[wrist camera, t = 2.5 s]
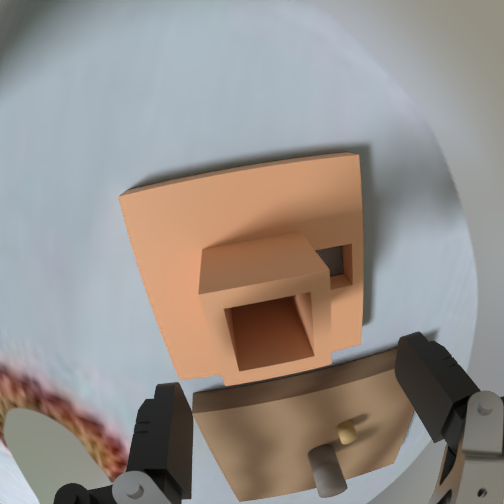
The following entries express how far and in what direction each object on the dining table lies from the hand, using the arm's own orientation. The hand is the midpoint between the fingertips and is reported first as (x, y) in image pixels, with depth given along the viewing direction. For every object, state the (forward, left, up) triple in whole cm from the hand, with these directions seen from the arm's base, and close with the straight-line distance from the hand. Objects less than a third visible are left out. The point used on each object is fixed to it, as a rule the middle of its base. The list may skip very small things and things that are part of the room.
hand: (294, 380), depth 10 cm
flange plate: (0, 0, -9) cm, 9 cm away
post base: (+3, -18, -9) cm, 20 cm away
